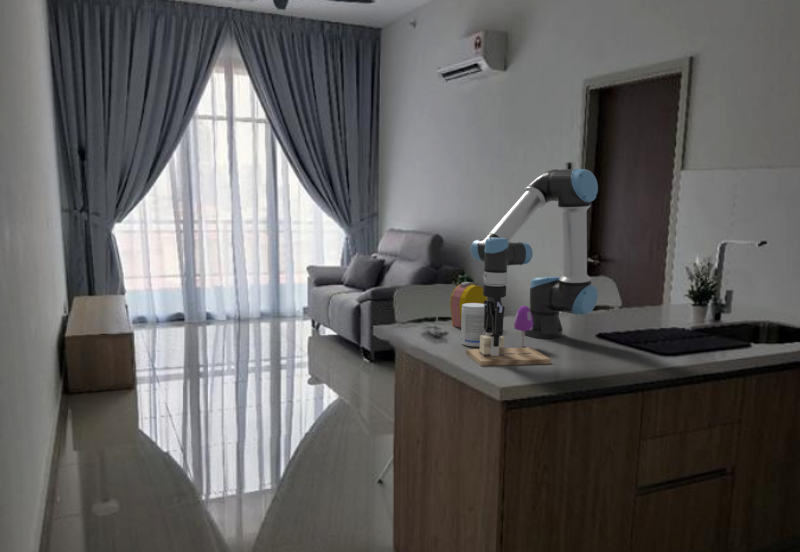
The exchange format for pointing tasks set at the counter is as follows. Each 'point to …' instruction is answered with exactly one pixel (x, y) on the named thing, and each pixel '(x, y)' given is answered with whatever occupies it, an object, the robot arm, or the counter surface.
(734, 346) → the counter surface
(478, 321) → the supplement tub
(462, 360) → the counter surface
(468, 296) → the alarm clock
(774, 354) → the counter surface
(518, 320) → the toy
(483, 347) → the block
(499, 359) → the board
